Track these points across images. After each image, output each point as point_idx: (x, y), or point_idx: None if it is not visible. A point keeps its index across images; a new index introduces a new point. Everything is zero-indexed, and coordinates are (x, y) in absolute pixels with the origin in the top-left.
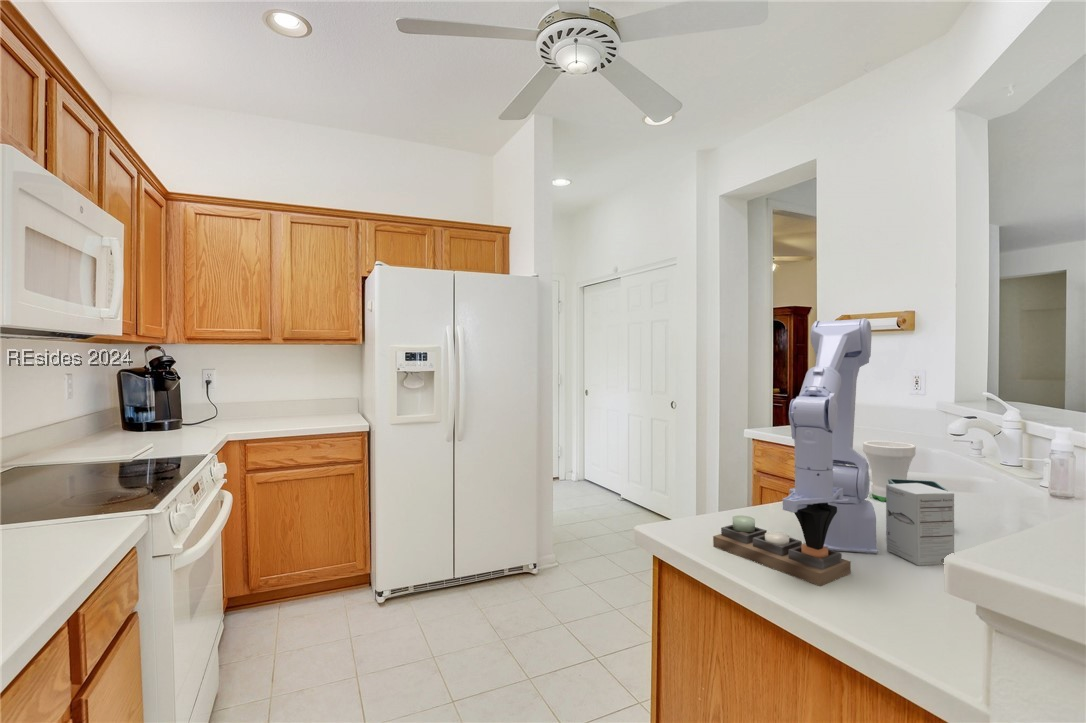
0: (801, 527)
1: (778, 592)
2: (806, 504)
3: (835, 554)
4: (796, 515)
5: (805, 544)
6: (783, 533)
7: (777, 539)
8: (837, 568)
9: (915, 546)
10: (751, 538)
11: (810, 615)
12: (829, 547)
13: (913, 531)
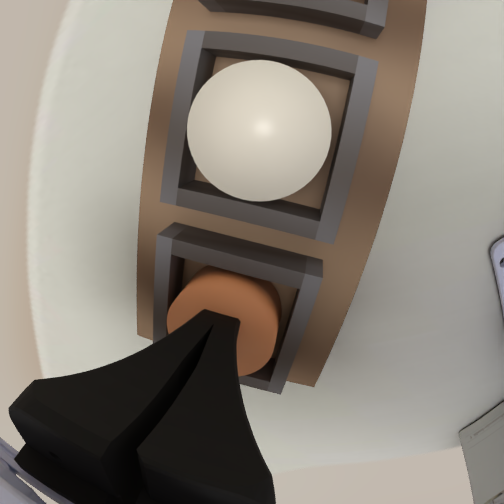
0: (144, 349)
1: (53, 243)
2: (26, 481)
3: (251, 382)
4: (76, 378)
5: (222, 300)
6: (328, 146)
7: (194, 161)
8: None
9: (470, 463)
10: (238, 6)
11: (39, 316)
12: (500, 271)
13: (480, 490)
